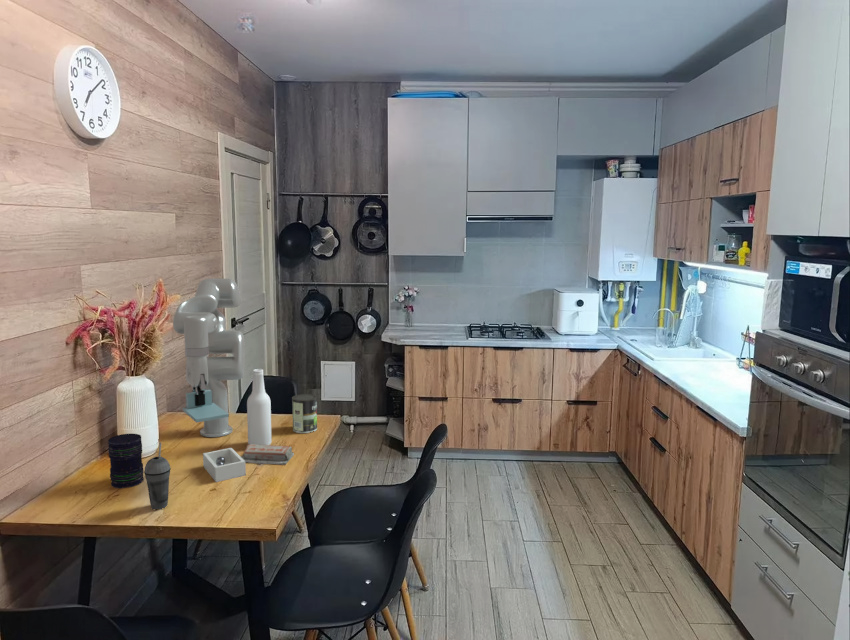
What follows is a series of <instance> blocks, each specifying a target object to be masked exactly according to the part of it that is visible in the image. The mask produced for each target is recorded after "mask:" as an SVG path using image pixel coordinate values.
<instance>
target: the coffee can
mask: <svg viewBox="0 0 850 640" xmlns="http://www.w3.org/2000/svg"><path fill="white" fill-rule="evenodd" d="M317 399H318V396H317V395H316V394H312V393H302V394H296V395H293V396H292V397H291V402H292V432H294V433H297V434H310V432H311V433H314V432H316V431H317V430H318V400H317ZM313 431H314V432H313Z"/></svg>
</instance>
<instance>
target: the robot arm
mask: <svg viewBox="0 0 850 640" xmlns="http://www.w3.org/2000/svg"><path fill="white" fill-rule="evenodd" d="M241 301H242V294H241V290H240V288H239V286H238V284H237V283H236V281H235V280H234V279H232V278H205V279H203V280H201V281H200V282H199V284H198V286H197V288H196V292H195V294H194V296H193V297H191V298H189V299H187V300H186V301H183V302H182V303H180V304H179V305H178V307H177V308H176V310H175V313H174V315H173V319H172V321H173V322H172V327H173V330H174V332H175V333H177V334H179V335H180V334H181V335H184V337H183V338H184V357H185V358H186V361H185V362H186V363H185V364H186V365H185V369H186V370H185V381H186V383H187V384H189V385H190V386H191V388H192V389H191V392H196V395H195V406H201V405H205V390H211V391H212V403H215V404H216V405H217V406H219V407H220V408H221V409H223V410H224V411H225V412H227V413H228V414H229V403H228V402H229V401H228V399H229V398H228V397H229V396H228V389H227V387H226V385H225V384H224V383H223V382H222V381H237V380H241V379H244V376H245V373H246V372H245V371H246V345H245V344H246V343H245V342H246V341H245V336H244V333H243V332H242V331H240V330H235V329H233V330H230V329H229V330H227V329H226V328H227V325H226V324H227V319H226V317H225V315H224V314H223V313H222V312H221V311H220V310H219V308H220V309H223V308H224V309H225V308H228V309H229V308H238V307H239V306H240V305H241ZM210 354H211V355H212V354H213V355H214V354H215V355H216V354H217V355H223V354H226V355H228V354H229V355H233V356H210ZM209 356H210V357H209ZM232 432H233V426H231V425H230V424H229V417H225V418H220V419H214V420H209V421H203V427H202V428H201V429H200V430H199V434H200V436H202V437H205V438H219V437H223V436H227V435H230V434H231V433H232Z"/></svg>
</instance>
